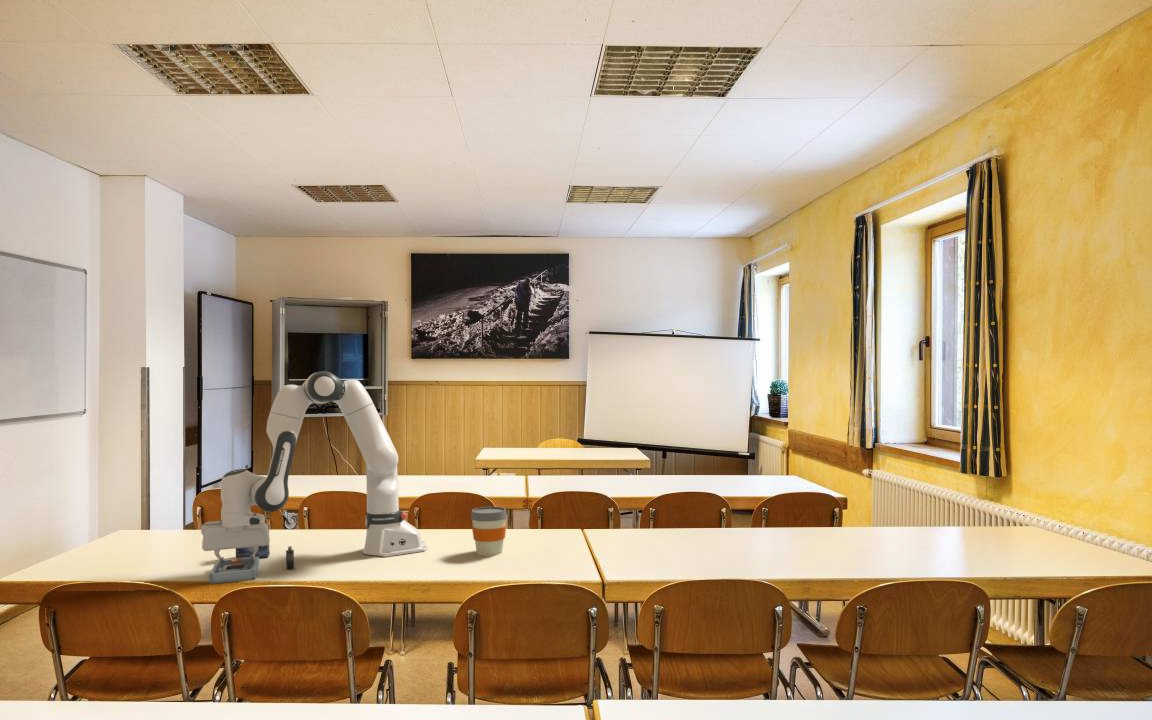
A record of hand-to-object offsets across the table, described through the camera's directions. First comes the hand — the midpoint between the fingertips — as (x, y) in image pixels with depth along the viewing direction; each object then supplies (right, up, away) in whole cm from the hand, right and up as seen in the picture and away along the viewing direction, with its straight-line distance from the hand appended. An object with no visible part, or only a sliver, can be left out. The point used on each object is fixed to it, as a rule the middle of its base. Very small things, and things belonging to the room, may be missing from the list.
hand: (236, 561), depth 246 cm
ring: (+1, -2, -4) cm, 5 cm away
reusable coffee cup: (+81, -2, +18) cm, 83 cm away
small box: (-2, -4, +17) cm, 18 cm away
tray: (+1, -3, -4) cm, 5 cm away
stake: (+17, -3, +2) cm, 17 cm away
